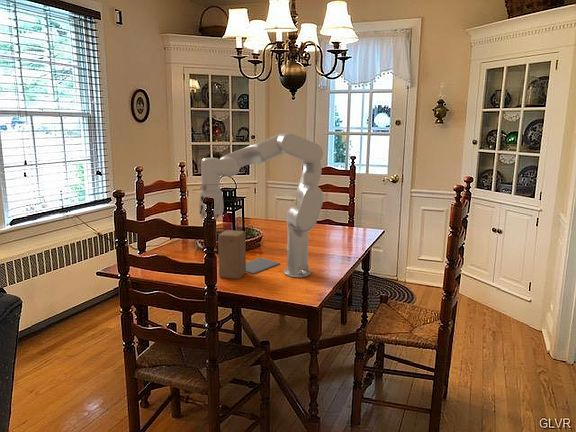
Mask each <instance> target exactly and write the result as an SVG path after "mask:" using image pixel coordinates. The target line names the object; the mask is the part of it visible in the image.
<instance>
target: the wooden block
mask: <svg viewBox="0 0 576 432" xmlns="http://www.w3.org/2000/svg"><path fill="white" fill-rule="evenodd" d="M217 243H218V244H217V246H218V247H217V249H218V252H217V253H218V277H219V278H224V279H232V280H233V279H235V280H240V279H241V278H242V277H243V276H244V275H245V274H246V273H247V272H246V262H247V260H246V259H247V257H246V252H247V251H246V250H247V249H246V245H247V243H246V231H244V230H231V229H226V230H224V231H222V232H220V233H219V234H218V236H217Z"/></svg>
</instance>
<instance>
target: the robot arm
mask: <svg viewBox="0 0 576 432" xmlns="http://www.w3.org/2000/svg"><path fill="white" fill-rule="evenodd" d="M284 154H287V155H289V156H291V157H292V156H293V158H294V157H295V158H297V159H299V160H300V162H301V165H302V166H301V167H302V172H301V175H300V178H299V181H298V185H297V188H296V191H295V199H296V200H297V201H298V202H299V203H300V205H296V204H295V205H293V206H291V207H290V208H289V209H288V210H287V212H286V218H285V219H286V225H287V226H286V228H287V247H286V248H287V250H286V251H287V254H286V255H287V256H286V257H287V267H286V268H284V270H283V274H284V275H286V277H287V276H288V277H290V278H296V279H297V278H298V279H299V278H307V277H309V276H310V275H312V270H311V269H310V268H309V239H310V238H309V232H310V231H311V230H313V229H314V228H315V226H316V224H317V222H318V219H319V216H320V213H321V210H322V207H323V202H324V192H323V190H322V189H321V188H320V187H319V184H320V181H321V176H322V171H323V170H322V167H323V166H322V162H321V160H322V159H323V156H324V150H323V148H322V146H321V145H320V144H318V143H317V142H313V141H310V140H309V139H306V138H304V137H302V136H299V135H296V134H294V133H292V132H291V133H290V132H280V133H278V134H276V135H273V136H271V137H268V138H266V139H264V140H262V141H258V142H257V143H254V144H251V145H248V146H246V147H243V148H240V149H237V150H235V151H232V152H229V153H227V154H225V155H222V156H221V157H220V158H217V157H204V158H202V159H201V162H200V163H201V165H200V166H201V186H200V190H201V191H200V196H199V203H198V204H199V208H198V209H199V214H200V219H203V220H205V217H206V212H205V209H206V208H205V205H204V203H203V199H204V198H205V197H211V198H213V199H214V217H215V219H216V222H217V220H218V218H219V217H220V216H222V214H223V213H224V208H225V207H224V206H225V205H224V196H223V192H222V190H221V176H225V177H234V176H236V175H238V173H239V172H240V168H242V167H245V166H249V165H257V164H262V163H266V162H268V161H270V160H273V159H274V158H277V157H278V156H282V155H284Z"/></svg>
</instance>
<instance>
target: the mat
mask: <svg viewBox="0 0 576 432" xmlns="http://www.w3.org/2000/svg"><path fill="white" fill-rule="evenodd" d="M280 264H281V263H280V262H278V261H274V260H271V259H266V258H263V257H258V258H255V259H252V260H250V261H246V272H245V273H248V274H250V275H256V274H258V273H260V272H263V271H266V270H268V269H272V268H274V267H277V266H279V265H280Z"/></svg>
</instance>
